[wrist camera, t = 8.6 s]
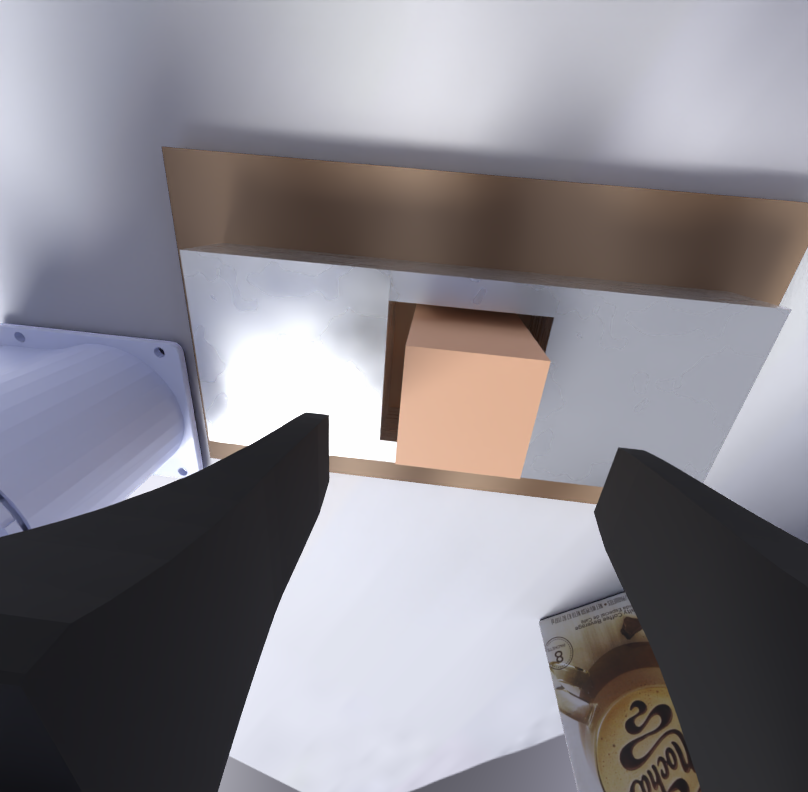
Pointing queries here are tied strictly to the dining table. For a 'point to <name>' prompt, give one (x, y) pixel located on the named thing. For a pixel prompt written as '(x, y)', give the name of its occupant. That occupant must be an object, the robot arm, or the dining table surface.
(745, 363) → the white square hole block
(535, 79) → the dining table surface
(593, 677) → the coffee box
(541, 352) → the peg
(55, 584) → the robot arm
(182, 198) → the board
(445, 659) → the dining table surface
